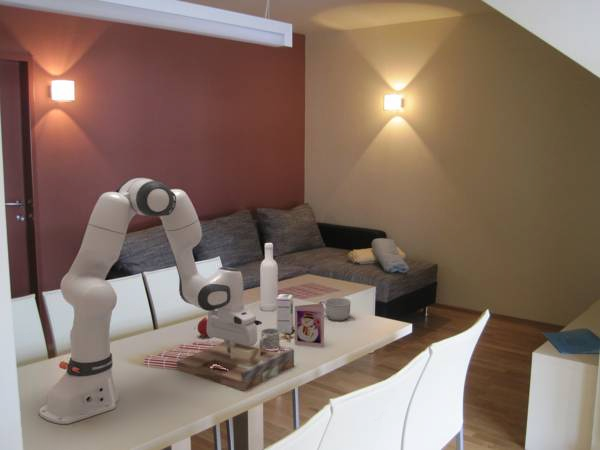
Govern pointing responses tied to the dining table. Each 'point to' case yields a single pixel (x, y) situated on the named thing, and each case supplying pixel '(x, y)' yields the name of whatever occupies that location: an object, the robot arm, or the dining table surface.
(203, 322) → the onion
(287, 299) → the syrup box
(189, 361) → the board
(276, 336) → the mug
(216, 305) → the robot arm
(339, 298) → the teacup
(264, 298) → the bottle
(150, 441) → the dining table surface
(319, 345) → the greeting card
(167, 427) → the dining table surface
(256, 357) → the birch block
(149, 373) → the dining table surface
